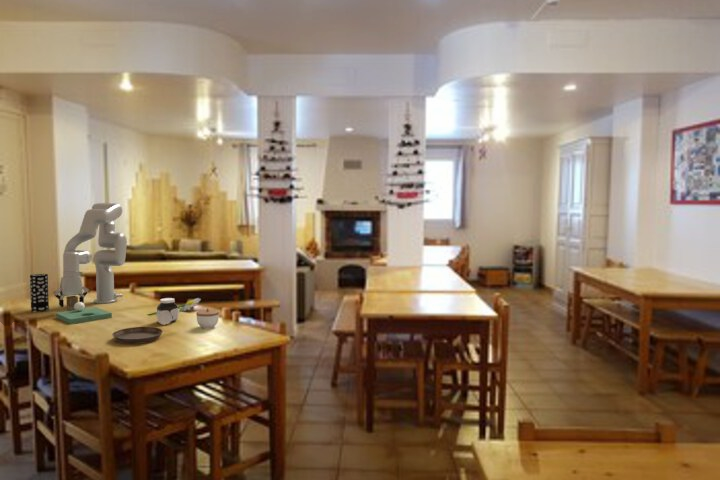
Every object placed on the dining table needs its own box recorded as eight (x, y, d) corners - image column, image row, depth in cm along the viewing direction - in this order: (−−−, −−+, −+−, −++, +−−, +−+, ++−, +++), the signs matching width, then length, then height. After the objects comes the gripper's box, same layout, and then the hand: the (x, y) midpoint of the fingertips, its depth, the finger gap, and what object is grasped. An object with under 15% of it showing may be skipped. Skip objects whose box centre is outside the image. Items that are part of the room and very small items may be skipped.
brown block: (74, 311, 272) (74, 295, 271) (78, 313, 268) (77, 296, 268) (66, 312, 269) (66, 296, 268) (70, 314, 265) (69, 297, 265)
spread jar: (174, 318, 259) (173, 297, 259) (183, 322, 251) (183, 300, 251) (151, 322, 251) (150, 299, 250) (160, 326, 243) (159, 303, 242)
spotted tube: (42, 312, 269) (41, 276, 268) (27, 311, 269) (26, 275, 268) (52, 308, 277) (51, 273, 276) (37, 308, 277) (36, 273, 276)
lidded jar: (223, 325, 246) (223, 307, 246) (210, 330, 236) (210, 311, 236) (205, 323, 250) (205, 305, 249) (191, 328, 240) (191, 309, 239)
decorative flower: (152, 321, 261) (205, 307, 280) (150, 313, 261) (204, 299, 280) (144, 318, 271) (196, 305, 290) (142, 310, 270) (195, 297, 290)
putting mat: (96, 311, 272) (96, 307, 272) (112, 317, 259) (111, 313, 259) (56, 317, 257) (55, 312, 257) (70, 324, 244) (70, 319, 244)
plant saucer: (172, 335, 228) (172, 328, 228) (143, 347, 208) (142, 340, 208) (133, 331, 233) (133, 325, 233) (101, 343, 213) (101, 336, 213)
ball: (82, 309, 265) (82, 300, 265) (86, 311, 262) (86, 302, 262) (72, 311, 262) (72, 301, 261) (76, 312, 258) (76, 303, 258)
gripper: (85, 272, 276) (85, 302, 277) (51, 275, 263) (51, 306, 263) (91, 273, 271) (91, 304, 272) (56, 276, 258) (56, 308, 259)
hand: (71, 305), depth 268 cm, fingers open, 9 cm apart
